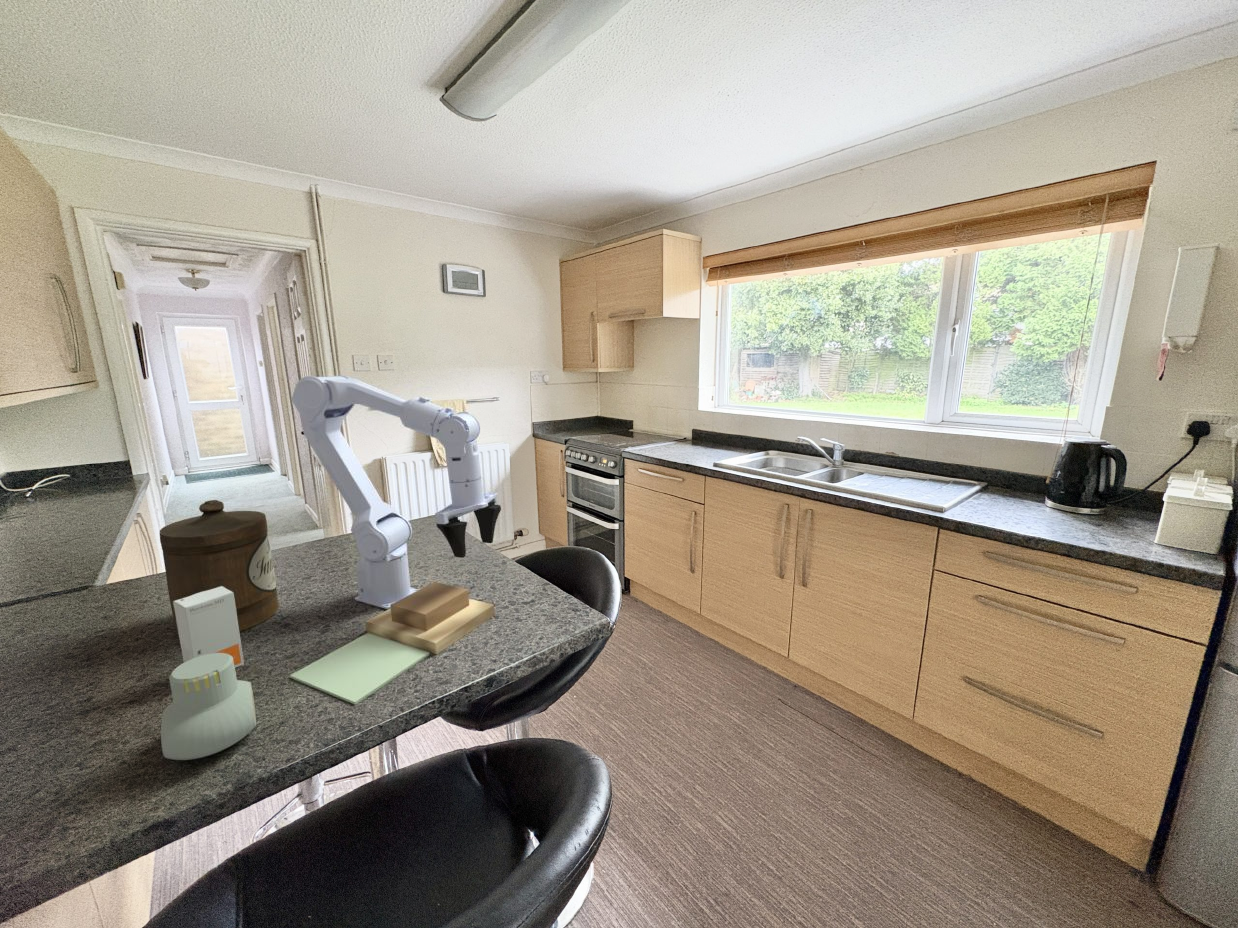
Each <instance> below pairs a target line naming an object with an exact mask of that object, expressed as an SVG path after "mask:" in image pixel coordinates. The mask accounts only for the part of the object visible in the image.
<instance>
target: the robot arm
mask: <svg viewBox="0 0 1238 928" xmlns="http://www.w3.org/2000/svg"><path fill="white" fill-rule="evenodd" d="M290 400H291V402H292V403H293V405H294V407H295V408H296V409H297V411H298V413H299V418H300V422H301V429H302V432H303V434H304V437H305V438H306V440H307V442H308V443H309V445H310V446H311V448H312V449H313V452H314V453H315V454H316V456H317V458H318V459H319V461H320V462H321V464H322V466H323V467H324V469H325V471H326V472H327V474H328V476H329V477H330V479H331V480H332V482H333V485H335V487H336V489H337V491H338V492H339V493H340V495H341V497H342V498H343V500H344V502H345V503H346V504H347V507H348V509H349V510H350V511H351V513H352V514H353V516H354V518H353V521H352V524H351V527H350V532H351V534H352V535H353V536H354V540H355V546H356V547H355V548H356V549H357V552H358V553H359V555H360V556H359V557H358V559H357V561H356V565H355V574H356V582H357V583H356V584H357V593H358V595H357V596H355V597H354V600H355V601H358V602H360V603H361V602H362V603H364V604H368V605H371V606H374V607H378V608H383V609H385V610H388V609H390V608H391V607H390V605H391V604H393V603H395V602H397V601H399V600H401V599H403V598H404V597H406V596H408V595H410V594H412V593H414V592H416V591H418V590H419V589H418V588H417V589H416V588H413V587H411V579H410V569H409V560H408V559H409V557H408V543H407V542H409V541H410V540H411V538H412V535H413V528H412V527H413V526H412V525H411V522H410V521H409V520H408V519H407V518H406V517H404V516H403V515H401V513H399V511H398V510H397V508H396V507H395V506H393V505H391V504H389V503H387V502H385V501H383V499H382V498H381V496H380V495H379V492H378V491H377V489H376V488H375V486H374V485H373V483H372V481H371V479H370V478H369V476H368V475H367V473H366V471H365V469H364V468H363V466H362V465H361V463H360V461H359V460H358V458H357V456H356V455H355V453H354V451H353V450H352V448H351V446H350V445H349V443H348V441H347V439H346V438H345V437H344V435H343V433H342V432H341V428H342V424H343V423H344V420H345V419H346V417H347V415H348V414H350V412H351V410H352V409H353V408H354V407H355V405H360V406H362V407H366V408H368V409H369V408H370V409H373V410H376V411H377V412H378V411H379V412H382V413H385V414H387V415H391V416H394V417H396V418H399V419H400V421H401V423H402V425H403V426H404V427H405V428H408V429H411V430H413V431H415V432H418V433H420V434H424V435H425V436H428V437H431V438H434V439H437V440H438V442H439V443H440V444H441V445H442V446H443V448H444V452H445V459H446V461H445V462H446V467H447V468H446V470H447V476H448V484H449V489H450V491H449V492H450V497H451V504H449V505H447V506H446V507H444V508H443V509H441V510H439V511H437V512H435V513H434V515H435V517H434V518H435V525H436V528H438V530H439V531H440V532H441V533H442V534H443V536H444V538H445V539H446V540H447V543H448V544H449V547H450V549H451V551H452V553H453V557H455V558H462V559H463V558H465V557H466V554H467V548H466V547H467V546H466V531H467V527H468V526H467V525H468V522H467V521H461V519H460V517H463V516H465V515H467V514H470V513H474V516H475V518H476V521H477V524H478V530H479V533H480V539H481V542H482V543H484V544H492V543H493V542H494V536H495V530H496V524H497V520H498V518H499V515H500V512H501V510H502V507H501V505H500V504H497V503H499V494H498V492H486V493H484V489H483V481H482V479H483V478H482V473H481V464H480V463H481V462H480V455H479V450H478V442H477V441H478V440H477V439H478V437H479V435H480V433H481V426H480V423H479V420H478V419H477V418H476V417H475V416H474V415H472V414H471V413H469V412H467V411H460V412H457V413H455V408H453V407H451V406H447V407H443V406H441V405H439V404H436V403H433V402H430V401H431V399H430V398H429V397H426V396H420V397H416V396H415V397H412V398H411V399H408V400H406V399H403V398H401V397H399V396H396V395H395V394H392V393H390V392H387V391H385V390H383V389H380V388H379V387H375V386H374V385H371V384H368V383H366V382H364V381H362V380H360V379H358V378H353V377H352V378H351V377H350V376H346V375H343V374H341V375H340V374H339V375H333V376H330V375H329V376H314V375H310V376H309V375H308V376H304V377H302V378H300V379H299V380H298V381H297V383H296V384H295V386H294V391H293V393H292V396H291V399H290Z"/></svg>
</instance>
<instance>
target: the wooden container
mask: <svg viewBox="0 0 1238 928" xmlns="http://www.w3.org/2000/svg"><path fill="white" fill-rule="evenodd" d="M224 508H225V505H224V502H223V501H221V500H218V499H210V500H207V501H204V502H203V503H201V504H200V505H199V507H198V509H199V511H200V512H201V513H202V514H201V515H197V516H193V517H189V518H184V519H181V520H178V521H175V522H171V523H169V524H167V525H165V526H163V527H162V528H161V529H160V530H159V541H160V542H159V543H160V546H161V550H162V557H163V563H164V569H165V577H166V583H167V584H166V585H167V591H168V596H169V603H170V607H171V612H172V618H173V624H174V628H175V632H176V634H177V636H179V633H178V627H177V621H176V615H175V610H174V605H173V601H175V600H179V599H182V598H185V597H189V596H191V595H194V594H196V593H200V592H203V591H208V590H211V589H214V588H217V587H221V586H223V587H224V588H226V589H228V590H230V591H232V592H233V593H234V599H235V606H236V613H237V620H238V626H239V632H242V631H245V630H248V629H250V628H252V627H255V626H257V625H259V624H261V623H264V622H265V621H267V620H269V619H270V618H271V617H272V616H273V615H275V614H276V613H277V611H278V609H279V608H280V607H279V598H278V591H277V583H276V576H275V568H274V563H273V562H274V561H273V557H272V551H271V546H270V540H269V539H270V538H269V533H268V532H269V531H268V530H269V529H268V522H267V516H266V514H265V513H264V512H261V511H256V510H254V511H253V510H232V511H225V510H224Z"/></svg>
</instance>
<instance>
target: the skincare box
mask: <svg viewBox="0 0 1238 928" xmlns="http://www.w3.org/2000/svg"><path fill="white" fill-rule="evenodd" d="M173 605H174V610H175V615H176V621H177V627H178V633H179V635H178V637H179V643H180V648H181V649H180V650H181V654H182V659H183V660H182V661H183V663H184V662H186V661H188V660H191V659H193V658H196V657H199V656H202V655H206V654H211V653H225V654H229V655H231V656H232V657H233V661H234V667H235V669H236V668H240V667H242V666H244V664H245V662H244V653H243V648H242V641H241V634H240V631H239V626H238V620H237V613H236V606H235V599H234V593H233V592H232V591H230V590H228V589H226V588H224V587H223V586H221V587H217V588H214V589H211V590H208V591H203V592H200V593H196V594H194V595H191V596H189V597H185V598H182V599H179V600H175V601H173Z"/></svg>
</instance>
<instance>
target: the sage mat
mask: <svg viewBox="0 0 1238 928" xmlns="http://www.w3.org/2000/svg"><path fill="white" fill-rule="evenodd" d="M430 654H431V653H430V652H427V651H424V650H421V649H417V648H414V647H411V646H408V645H405V644H402V643H399V642H396V641H392V640H389V639H386V638H383V637H380V636H377V635H374V634H371V633H368V632H366V633H364V634H363V635H361V636H359V637H357V638H356V639H354V640H352V641H350V642H348V643H346V644H345V645H343V646H341V647H339V648H337V649H336V650H333V651H332V652H330V653H328V654H326V655H324V656H323V657H321V658H319V659H317V660H315V661H313V662H311V663H309V664H308V665H306V666H304V667H303V668H301V669H299V670H297V671H295V672H293V673H291V674H290V675H289V678H290V679H291V680H292V679H293V680H294V681H296V682H299V683H302V684H304V685H306V686H309V687H312V688H314V689H316V690H319V691H321V692H322V693H323V692H324V693H326V694H329V695H331V696H333V697H336V698H338V699H340V700H343V701H345V702H348V703H351V704H352V705H355V706H356V705H357V704H359V703H360V702H362V701H364V700H365V699H366V698H368V697H370V696H371V695H373V694H374V693H375V692H377V691H378V690H379V689H381V688H383V687H384V686H385V685H387V684H389V683H391V682H392V681H393V680H394V679H396V678H398V677H399V676H400V675H402V674H404V673H405V672H406V671H409V669H411V668H412V667H414V666H415V665H418V663H420V662H421V661H422V660H424V659H426V658H427V657H429V656H430Z"/></svg>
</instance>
